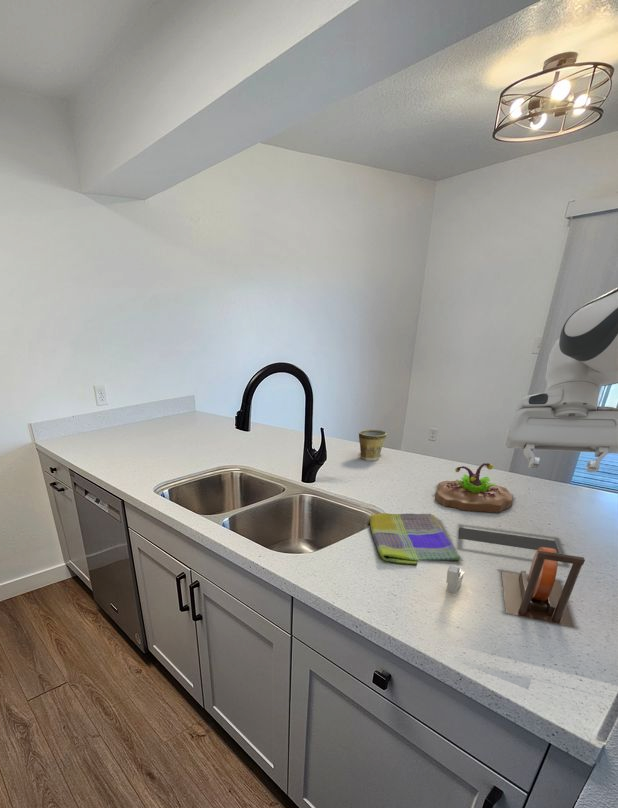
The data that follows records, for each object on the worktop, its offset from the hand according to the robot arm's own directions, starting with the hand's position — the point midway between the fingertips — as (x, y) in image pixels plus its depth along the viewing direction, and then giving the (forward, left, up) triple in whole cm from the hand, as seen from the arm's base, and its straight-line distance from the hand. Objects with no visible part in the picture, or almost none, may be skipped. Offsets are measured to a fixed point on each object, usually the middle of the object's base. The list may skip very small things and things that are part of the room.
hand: (562, 469), depth 86 cm
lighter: (+15, +20, -22) cm, 33 cm away
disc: (+1, +16, -20) cm, 26 cm away
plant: (+11, -36, -22) cm, 43 cm away
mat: (+4, -6, -22) cm, 23 cm away
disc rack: (+1, +16, -22) cm, 27 cm away
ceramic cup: (+46, -70, -22) cm, 87 cm away
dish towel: (+25, -1, -22) cm, 33 cm away
